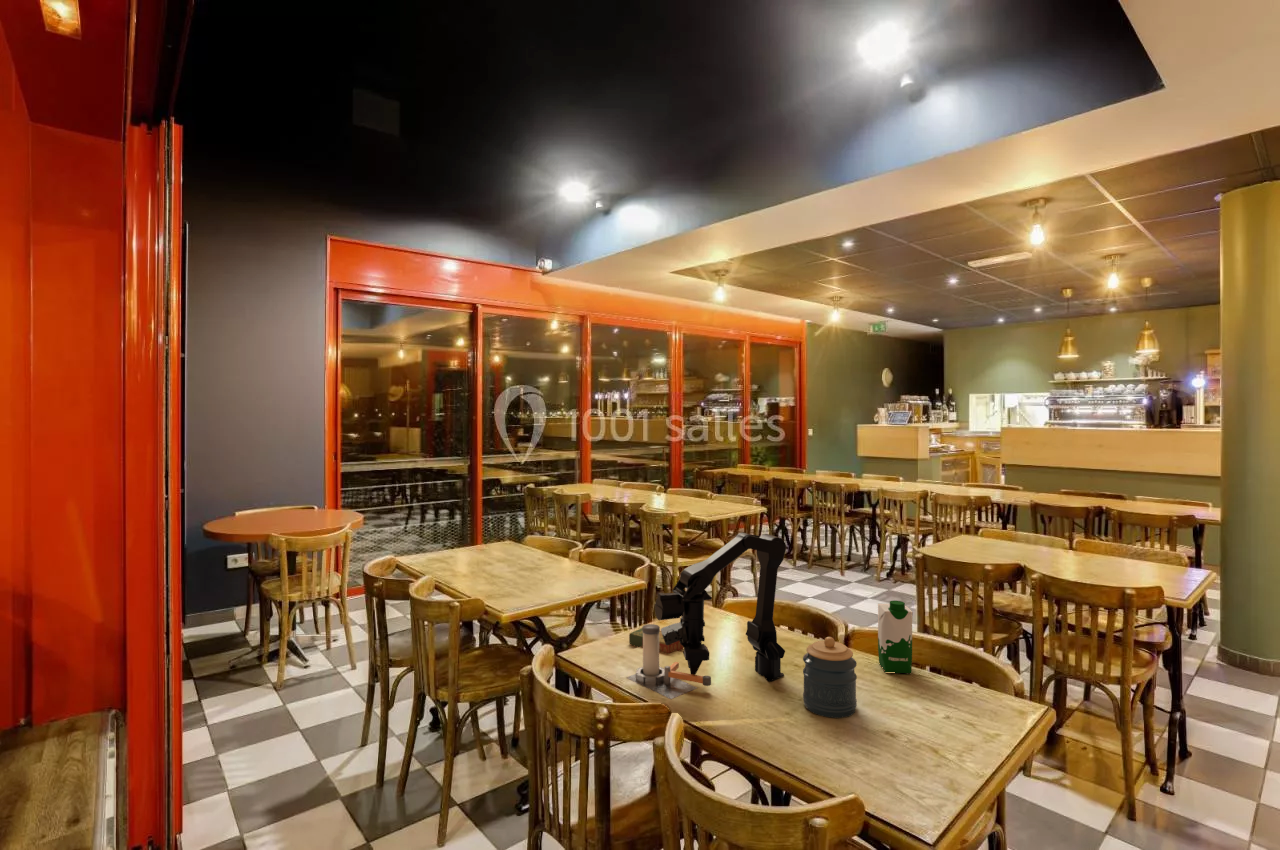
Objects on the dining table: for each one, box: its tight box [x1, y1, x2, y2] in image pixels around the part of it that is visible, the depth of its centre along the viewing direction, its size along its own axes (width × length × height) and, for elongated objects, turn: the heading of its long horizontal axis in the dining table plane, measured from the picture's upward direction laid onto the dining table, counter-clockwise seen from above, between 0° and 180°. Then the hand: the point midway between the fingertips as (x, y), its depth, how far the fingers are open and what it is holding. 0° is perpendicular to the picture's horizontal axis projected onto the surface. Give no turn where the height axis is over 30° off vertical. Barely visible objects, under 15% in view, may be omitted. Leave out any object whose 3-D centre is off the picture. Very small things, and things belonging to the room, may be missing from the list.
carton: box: [628, 627, 684, 654], centre depth 201 cm, size 8×16×4 cm, turn 50°
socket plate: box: [625, 665, 698, 700], centre depth 171 cm, size 18×10×3 cm, turn 41°
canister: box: [802, 636, 858, 719], centre depth 158 cm, size 13×13×18 cm
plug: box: [641, 623, 661, 676], centre depth 174 cm, size 5×5×14 cm
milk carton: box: [877, 600, 914, 674], centre depth 182 cm, size 9×9×20 cm
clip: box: [664, 661, 712, 687], centre depth 171 cm, size 13×8×4 cm, turn 64°
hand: (691, 671), depth 171 cm, fingers open, 4 cm apart
